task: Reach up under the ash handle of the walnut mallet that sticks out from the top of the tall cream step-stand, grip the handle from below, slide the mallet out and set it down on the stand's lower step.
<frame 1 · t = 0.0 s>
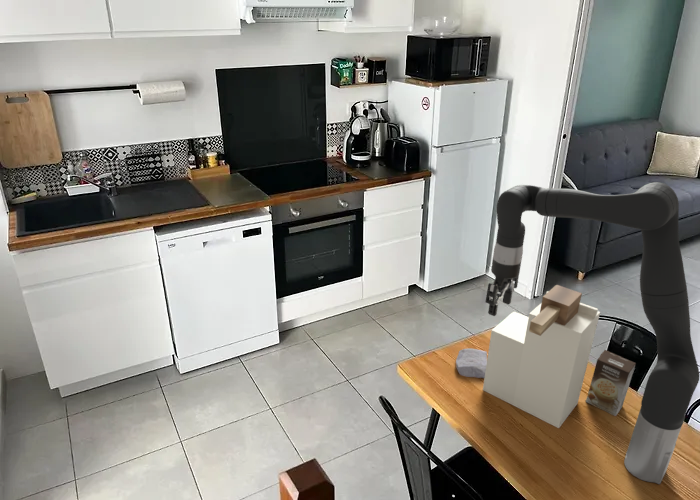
hand: (499, 308, 153), 29 cm above the table, tool pointing down, fingers open, 8 cm apart
stone block: (470, 367, 177), on the table
step stand: (529, 396, 164), on the table
mallet: (558, 314, 146), point 32 cm above the table, touching step stand
coffee box: (603, 404, 161), on the table
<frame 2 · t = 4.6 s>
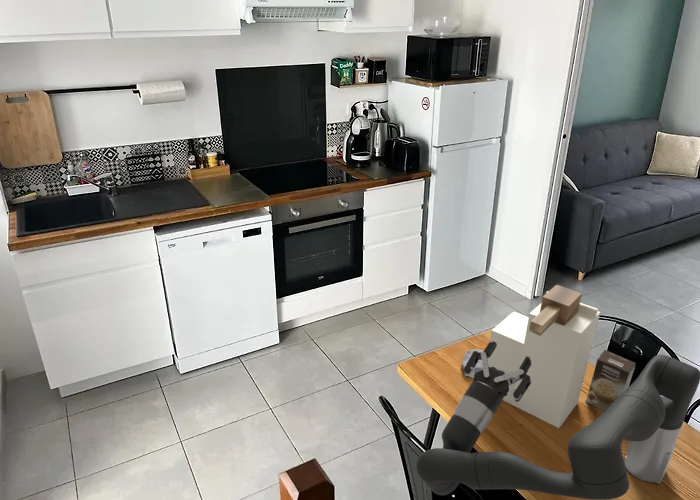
hand: (511, 350, 126), 35 cm above the table, tool pointing upward, fingers open, 8 cm apart
stone block: (476, 368, 177), on the table
everything else where it was.
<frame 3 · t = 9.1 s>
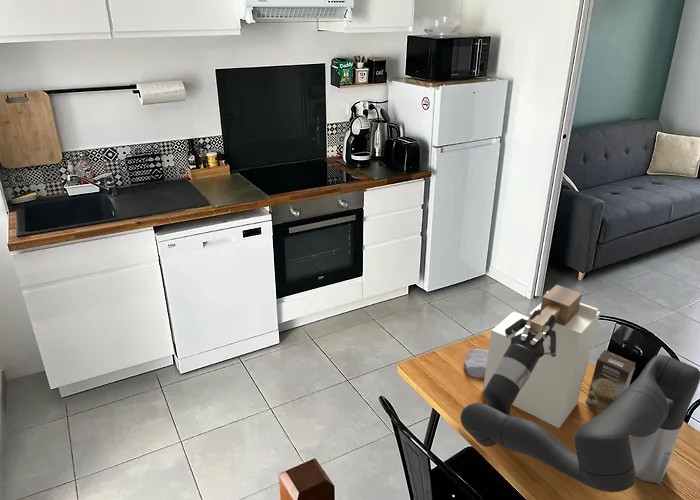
hand: (546, 313, 138), 37 cm above the table, tool pointing upward, fingers closed on mallet, 3 cm apart
mallet: (558, 314, 146), point 32 cm above the table, touching gripper, step stand
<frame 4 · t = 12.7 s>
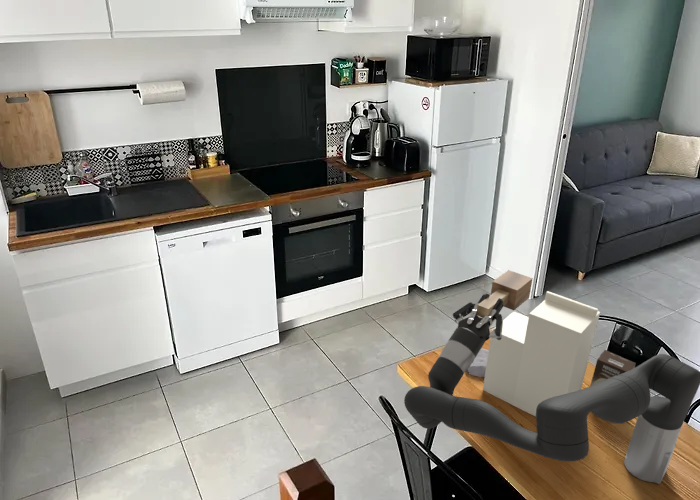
hand: (494, 297, 137), 40 cm above the table, tool pointing upward, fingers closed on mallet, 3 cm apart
mallet: (509, 299, 146), point 36 cm above the table, touching gripper
when the fingers open (27 cm above the table, at t = 16.6 s): mallet stays where it is, resting on step stand.
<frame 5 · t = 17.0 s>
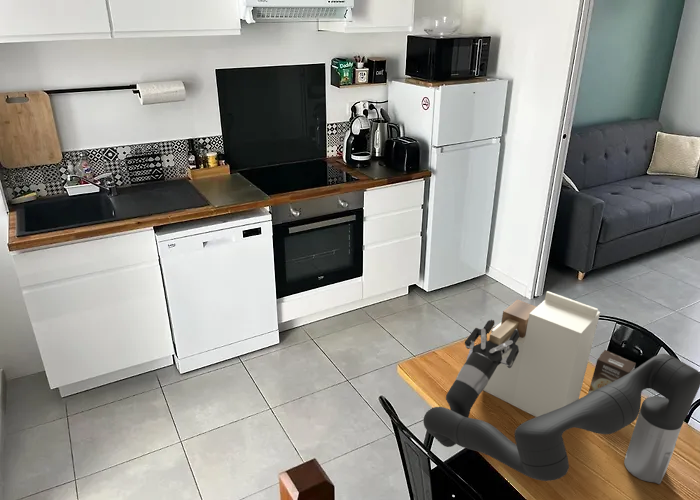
hand: (504, 326, 149), 27 cm above the table, tool pointing upward, fingers open, 6 cm apart
mallet: (518, 326, 158), point 22 cm above the table, touching step stand
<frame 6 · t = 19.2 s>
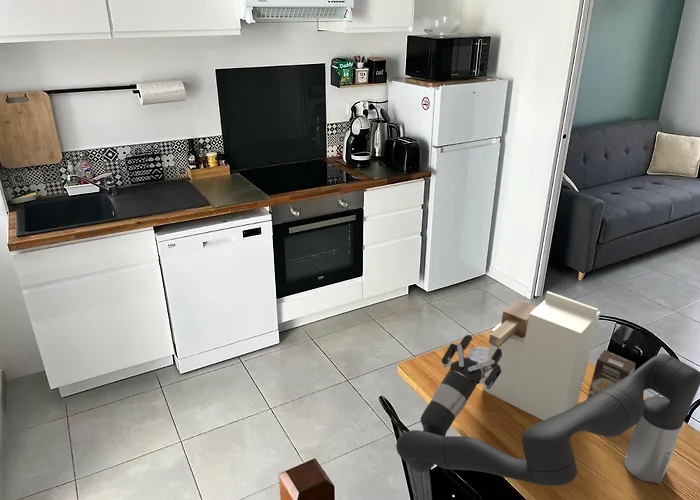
hand: (484, 342, 139), 29 cm above the table, tool pointing upward, fingers open, 8 cm apart
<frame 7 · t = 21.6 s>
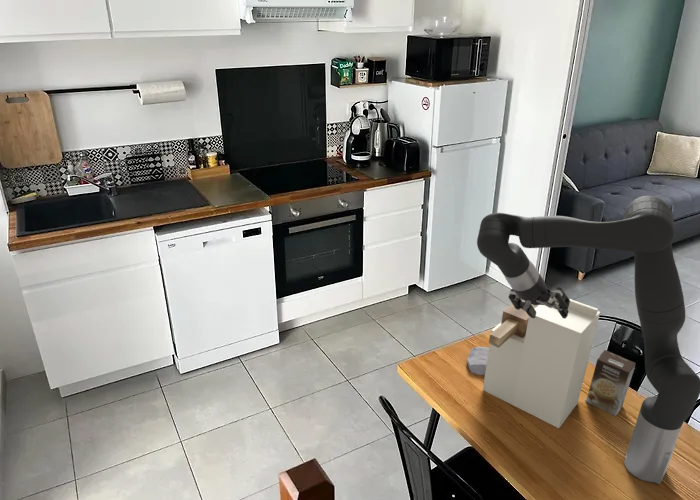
hand: (549, 315, 142), 34 cm above the table, tool tilted 40°, fingers open, 8 cm apart
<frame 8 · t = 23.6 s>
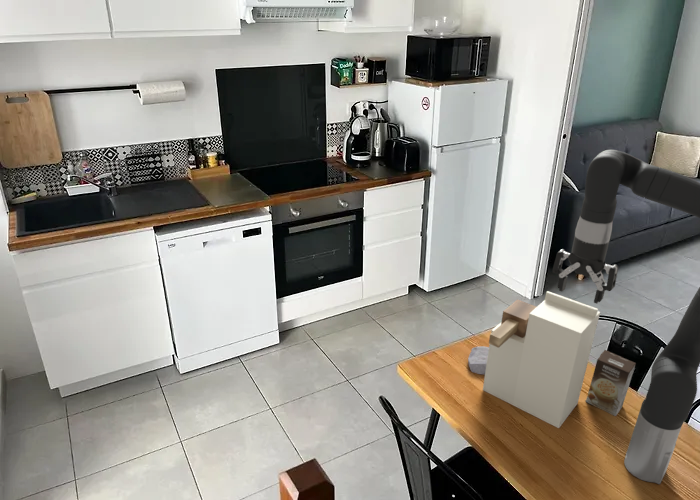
hand: (578, 296, 133), 43 cm above the table, tool pointing down, fingers open, 8 cm apart
at the end: mallet inside the target area (0.6 cm from its centre), point 22.0 cm above the table; mallet tilted 0°; the gripper is holding nothing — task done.
